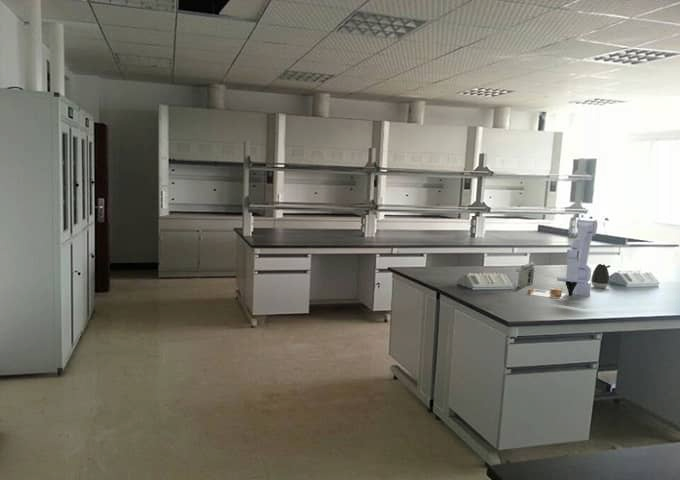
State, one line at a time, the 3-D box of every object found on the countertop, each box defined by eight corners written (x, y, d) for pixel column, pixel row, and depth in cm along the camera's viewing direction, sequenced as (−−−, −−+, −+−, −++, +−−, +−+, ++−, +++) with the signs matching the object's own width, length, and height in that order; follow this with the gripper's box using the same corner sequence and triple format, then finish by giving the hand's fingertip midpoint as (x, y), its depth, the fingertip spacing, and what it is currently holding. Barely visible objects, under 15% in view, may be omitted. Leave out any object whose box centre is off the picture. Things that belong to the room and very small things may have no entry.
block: (561, 296, 293) (562, 289, 292) (559, 297, 288) (560, 290, 288) (551, 294, 295) (552, 287, 295) (550, 296, 291) (550, 289, 291)
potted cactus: (612, 289, 325) (614, 265, 323) (595, 289, 325) (597, 264, 323) (604, 286, 335) (606, 262, 333) (587, 285, 335) (589, 262, 333)
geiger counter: (526, 265, 316) (539, 261, 336) (515, 264, 319) (528, 260, 339) (524, 288, 317) (537, 283, 337) (513, 287, 321) (527, 281, 341)
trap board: (566, 295, 301) (566, 288, 301) (560, 301, 286) (561, 294, 285) (533, 291, 311) (533, 284, 310) (526, 296, 295) (526, 289, 295)
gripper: (556, 270, 287) (554, 294, 288) (586, 273, 279) (583, 298, 281) (559, 268, 293) (557, 292, 294) (587, 271, 285) (585, 296, 287)
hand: (570, 295), depth 288 cm, fingers closed
